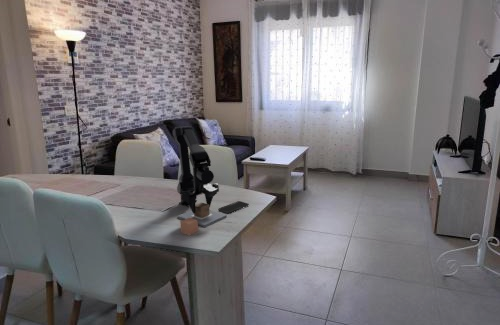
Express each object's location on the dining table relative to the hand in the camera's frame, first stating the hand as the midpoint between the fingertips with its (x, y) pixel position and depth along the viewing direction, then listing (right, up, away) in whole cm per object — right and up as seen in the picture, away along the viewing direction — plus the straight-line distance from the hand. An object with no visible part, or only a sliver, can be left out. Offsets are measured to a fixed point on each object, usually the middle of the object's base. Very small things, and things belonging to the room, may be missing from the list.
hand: (201, 210), depth 162 cm
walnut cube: (0, -2, +1) cm, 2 cm away
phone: (+14, -1, +12) cm, 19 cm away
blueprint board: (0, -3, +1) cm, 4 cm away
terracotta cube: (-3, -7, -14) cm, 16 cm away
